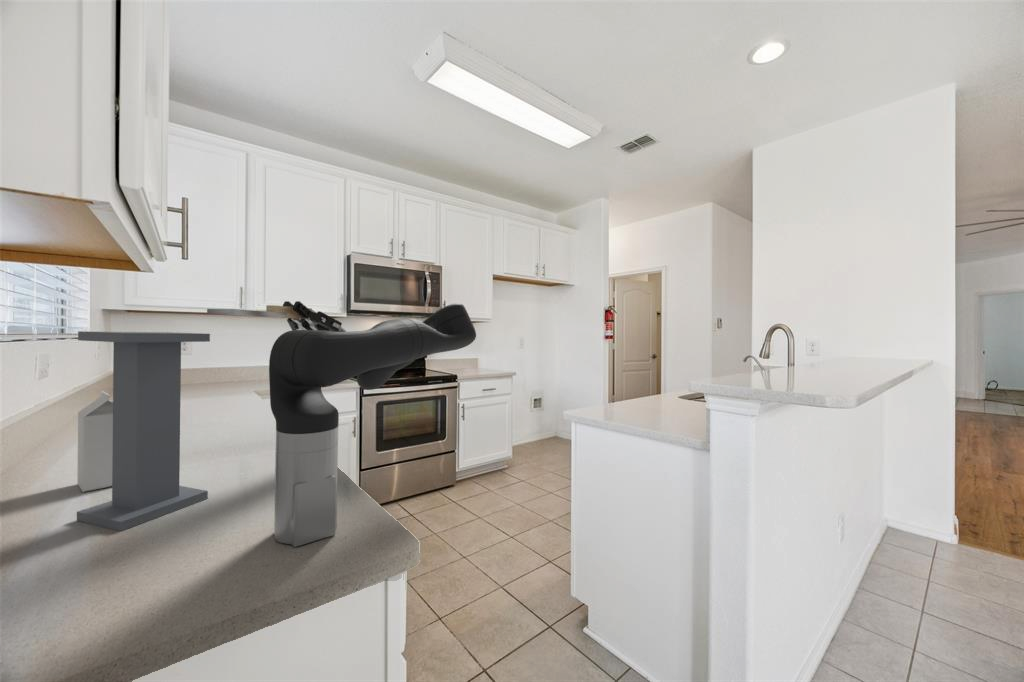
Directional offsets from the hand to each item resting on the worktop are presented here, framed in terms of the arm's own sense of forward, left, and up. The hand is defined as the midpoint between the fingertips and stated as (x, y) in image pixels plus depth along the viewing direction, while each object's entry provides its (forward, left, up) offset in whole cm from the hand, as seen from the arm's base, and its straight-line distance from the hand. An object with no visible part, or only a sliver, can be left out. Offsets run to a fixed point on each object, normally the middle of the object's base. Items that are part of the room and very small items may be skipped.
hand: (290, 304), depth 90 cm
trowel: (-3, +5, -3) cm, 6 cm away
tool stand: (0, +23, -39) cm, 45 cm away
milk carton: (+21, +29, -39) cm, 53 cm away
